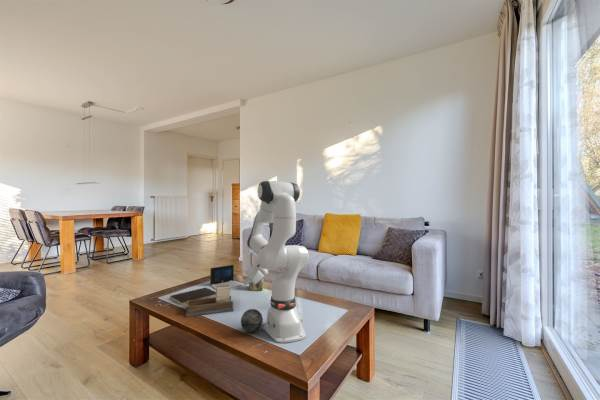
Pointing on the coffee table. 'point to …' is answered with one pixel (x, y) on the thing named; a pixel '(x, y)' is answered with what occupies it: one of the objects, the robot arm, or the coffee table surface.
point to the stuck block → (222, 293)
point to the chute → (207, 307)
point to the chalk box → (257, 285)
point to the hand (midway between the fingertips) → (244, 283)
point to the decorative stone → (251, 320)
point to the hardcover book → (193, 295)
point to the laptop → (223, 276)
